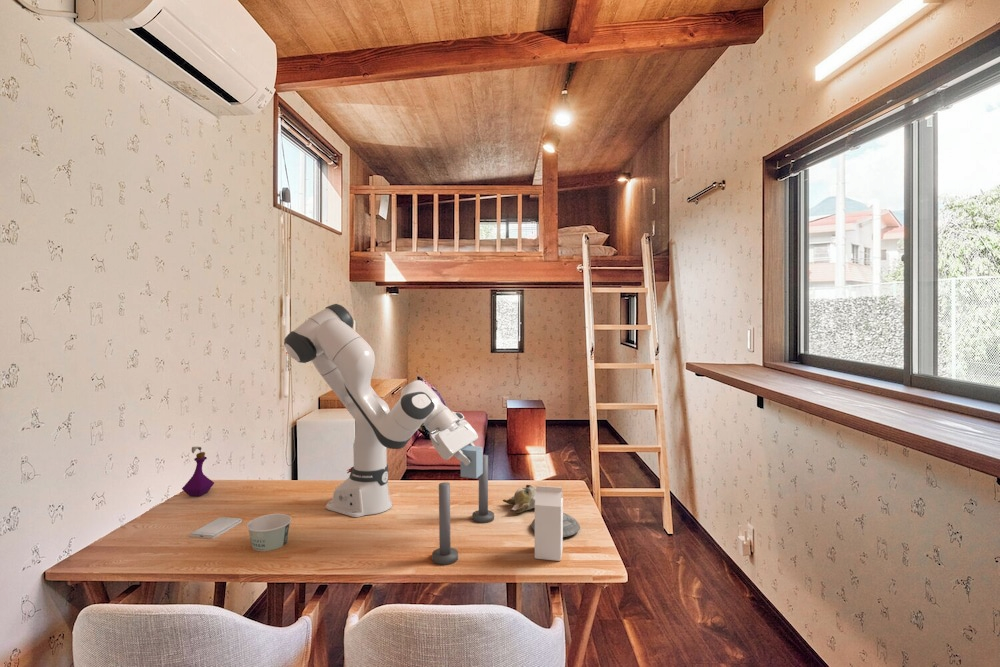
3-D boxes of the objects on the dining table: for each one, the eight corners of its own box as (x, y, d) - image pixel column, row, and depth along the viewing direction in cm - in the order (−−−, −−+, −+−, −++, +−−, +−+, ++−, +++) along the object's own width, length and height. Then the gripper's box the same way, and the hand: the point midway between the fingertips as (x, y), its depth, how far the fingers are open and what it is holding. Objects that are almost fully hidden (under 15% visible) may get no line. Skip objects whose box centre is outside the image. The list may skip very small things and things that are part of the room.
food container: (237, 552, 141) (236, 529, 141) (263, 533, 153) (262, 512, 153) (277, 555, 140) (276, 531, 139) (300, 535, 151) (299, 514, 151)
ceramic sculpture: (552, 487, 168) (509, 493, 164) (553, 512, 168) (510, 519, 164) (541, 477, 178) (501, 483, 174) (543, 501, 178) (502, 507, 175)
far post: (469, 521, 161) (469, 457, 161) (476, 513, 168) (477, 452, 167) (489, 524, 159) (490, 459, 158) (496, 515, 166) (497, 454, 165)
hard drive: (219, 516, 163) (189, 532, 151) (242, 518, 162) (213, 535, 149) (219, 521, 163) (189, 538, 151) (242, 523, 162) (213, 540, 149)
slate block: (460, 476, 147) (460, 449, 147) (467, 471, 152) (467, 445, 152) (476, 478, 146) (476, 451, 145) (482, 473, 150) (482, 446, 150)
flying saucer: (589, 530, 155) (589, 513, 155) (559, 546, 145) (559, 527, 144) (552, 516, 166) (552, 500, 166) (521, 530, 155) (521, 512, 155)
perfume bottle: (196, 490, 190) (195, 443, 189) (214, 491, 189) (213, 443, 188) (181, 497, 182) (180, 448, 182) (200, 498, 181) (199, 449, 181)
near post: (427, 562, 135) (426, 487, 134) (439, 550, 142) (438, 479, 141) (451, 566, 133) (450, 489, 132) (462, 554, 139) (461, 481, 139)
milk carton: (560, 561, 135) (560, 492, 135) (534, 559, 137) (534, 490, 136) (562, 549, 142) (563, 483, 142) (537, 547, 144) (537, 481, 143)
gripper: (434, 425, 141) (466, 464, 138) (463, 412, 160) (492, 445, 157) (420, 440, 142) (451, 478, 139) (451, 424, 162) (479, 458, 159)
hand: (473, 460), depth 148 cm, fingers closed on slate block, 5 cm apart
